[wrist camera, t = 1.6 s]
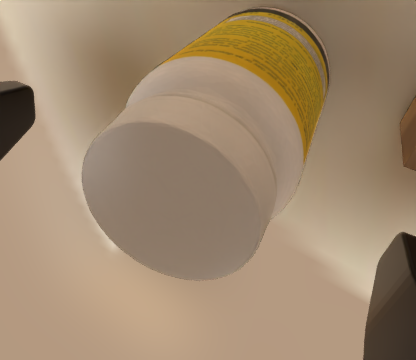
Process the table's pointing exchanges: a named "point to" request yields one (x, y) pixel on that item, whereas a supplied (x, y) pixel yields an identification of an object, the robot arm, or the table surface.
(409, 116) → the holder
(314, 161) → the table surface
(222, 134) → the supplement bottle
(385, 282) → the robot arm
